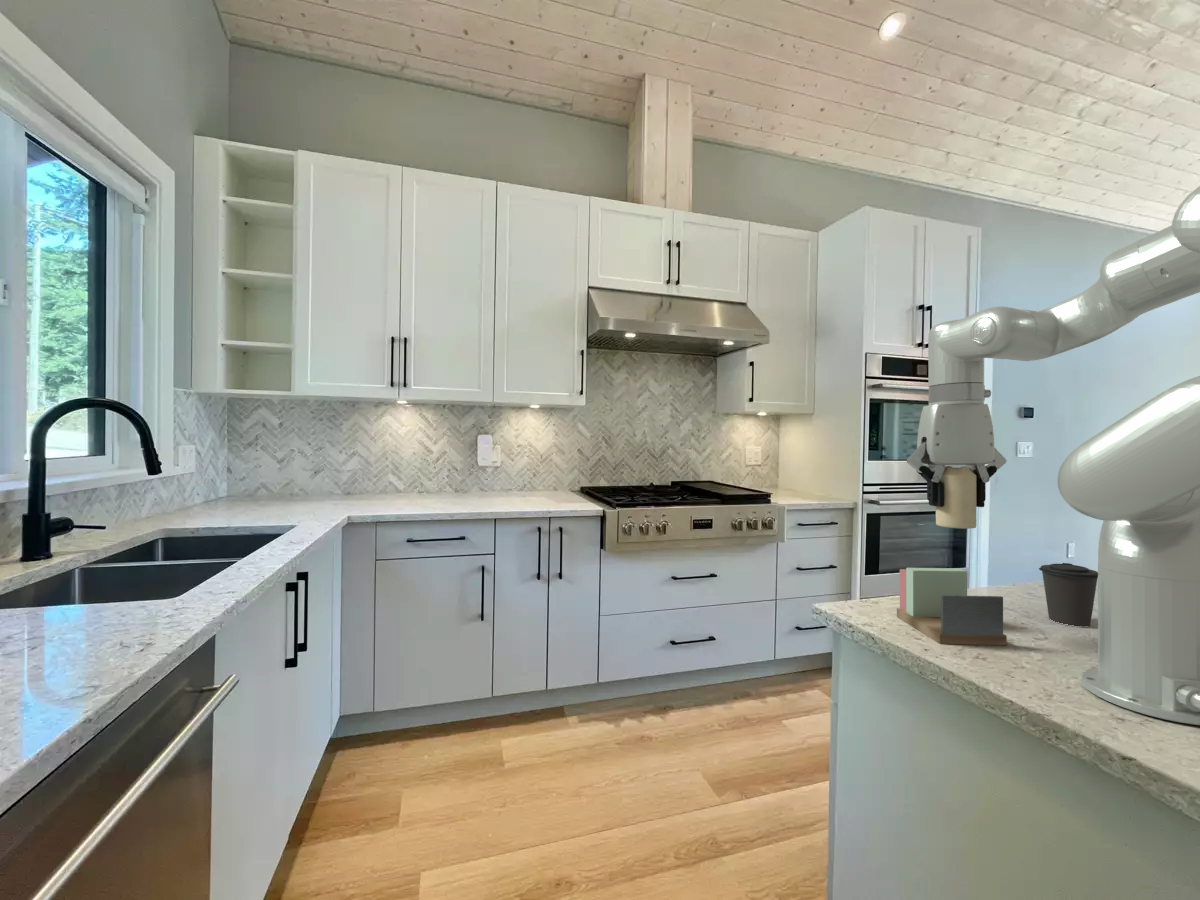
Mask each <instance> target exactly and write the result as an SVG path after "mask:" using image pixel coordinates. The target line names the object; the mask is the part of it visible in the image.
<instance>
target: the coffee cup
mask: <svg viewBox="0 0 1200 900" xmlns="http://www.w3.org/2000/svg"><path fill="white" fill-rule="evenodd" d="M1038 570H1039V571H1041V574H1042V580H1043V586H1044V593H1045V601H1046V608H1047V613H1048V619H1049V620H1050V619H1051V620H1053V621H1055V622H1054V623H1056V622H1059V623H1063V624H1068V625H1074V626H1089V627H1090V626H1091V622H1092V617H1093V609H1094V603H1095V598H1096V597H1095V596H1096V591H1097V586H1098V570H1097V571H1096V570H1093V569H1090V568H1088V567H1086V566H1082V565H1075V564H1073V563H1069V562H1062V563H1050V564H1043V565H1041V566H1040V567H1039V568H1038ZM1051 620H1050V621H1051ZM1053 621H1052V622H1053ZM1059 623H1058V624H1059ZM1063 624H1062V625H1063ZM1068 625H1067V626H1068ZM1074 626H1073V627H1074Z"/></svg>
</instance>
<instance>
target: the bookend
mask: <svg viewBox="0 0 1200 900" xmlns="http://www.w3.org/2000/svg"><path fill="white" fill-rule="evenodd" d="M941 633H942V634H953V635H999V636H1003V634H1004V596H1001V595H967V596H959V595H941Z"/></svg>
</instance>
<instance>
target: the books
mask: <svg viewBox="0 0 1200 900" xmlns="http://www.w3.org/2000/svg"><path fill="white" fill-rule="evenodd" d="M941 595H959V596H968V571H967V570H964V569H961V568H958V567H957V568H956V567H955V568H954V567H953V568H952V567H949V568H947V567H906V568H903V569H902V568H900V569H899V608H900V609H901V610H903V611H905V612H906V613H908V614H910V615H911V616H913V617H941Z"/></svg>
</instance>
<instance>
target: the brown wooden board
mask: <svg viewBox="0 0 1200 900" xmlns="http://www.w3.org/2000/svg"><path fill="white" fill-rule="evenodd" d="M896 617H897V618H898V619H900V620H901V621H903V622H905V623H906V624H908V625H909V626H910V627H913V629H916V630H917V631H919V632H920V631H921V632H920V633H923V634H924V635H925V634H926V635H925V636H927V637H928V636H929V638H930V639H931V640H933V641H935V642H936V641H937V642H936V643H938V644H939V643H941V645H976V646H978V645H979V646H980V645H982V646H983V645H984V646H1007V643H1008V642H1007V641H1008V640H1007V639H1008V638H1007V637H1008V635H1006V634H1005V633H1003V636H999V635H953V634H942V633H941V617H913V616H911V615H910V614H908V613H906V612H905V611H903V610H901V609H900V607H899V608H898V607H897V608H896ZM977 644H978V645H977Z"/></svg>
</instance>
